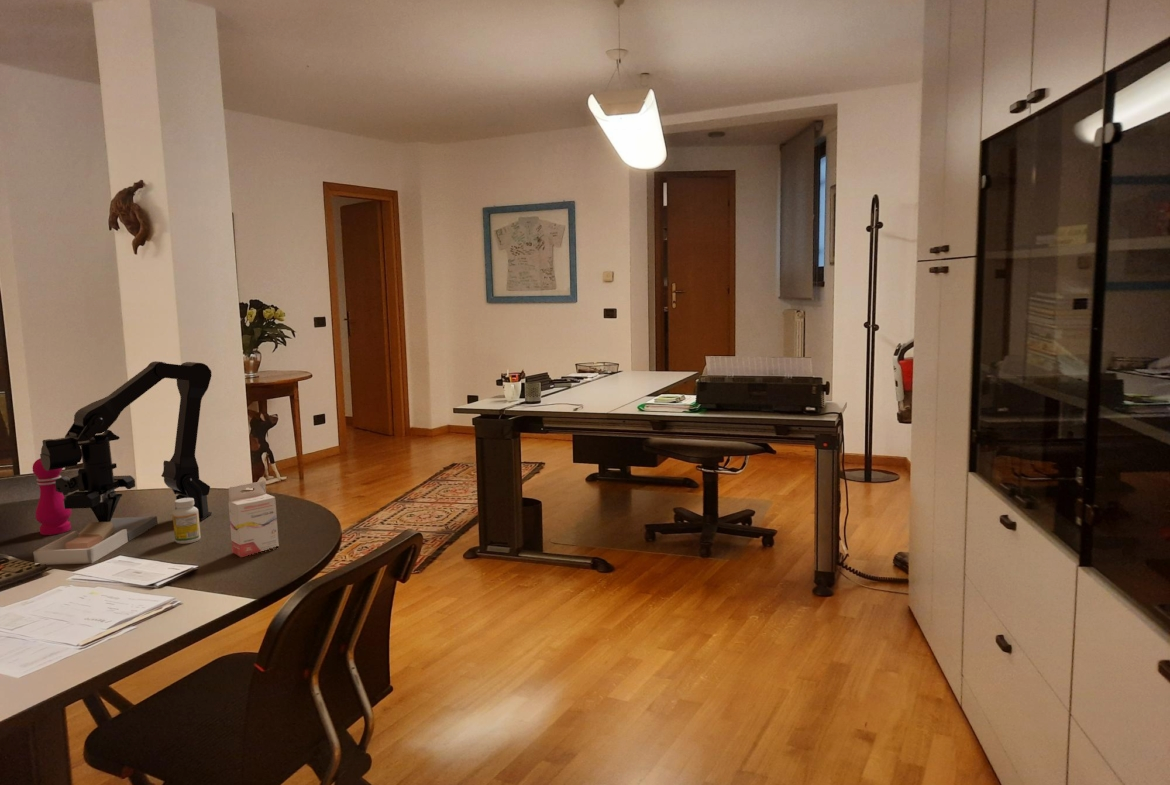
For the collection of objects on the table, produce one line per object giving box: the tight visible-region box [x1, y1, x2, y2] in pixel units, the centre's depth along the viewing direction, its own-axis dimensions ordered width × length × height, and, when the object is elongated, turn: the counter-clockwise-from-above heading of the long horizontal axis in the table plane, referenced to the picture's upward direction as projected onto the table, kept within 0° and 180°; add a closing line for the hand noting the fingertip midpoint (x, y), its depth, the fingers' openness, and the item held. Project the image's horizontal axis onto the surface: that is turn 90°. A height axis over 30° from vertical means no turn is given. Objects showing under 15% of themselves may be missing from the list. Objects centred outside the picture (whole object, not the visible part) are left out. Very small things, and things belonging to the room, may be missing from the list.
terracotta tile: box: [65, 536, 103, 549], centre depth 176 cm, size 5×5×2 cm
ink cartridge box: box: [228, 480, 280, 558], centre depth 173 cm, size 9×5×15 cm, turn 135°
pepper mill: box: [32, 458, 72, 536], centre depth 192 cm, size 7×7×20 cm
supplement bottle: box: [171, 498, 202, 545], centre depth 182 cm, size 5×5×10 cm
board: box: [108, 515, 159, 542], centre depth 190 cm, size 12×13×2 cm
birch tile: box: [77, 521, 115, 540], centre depth 181 cm, size 5×5×2 cm
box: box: [32, 529, 129, 566], centre depth 176 cm, size 12×14×3 cm
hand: (105, 527), depth 185 cm, fingers closed
